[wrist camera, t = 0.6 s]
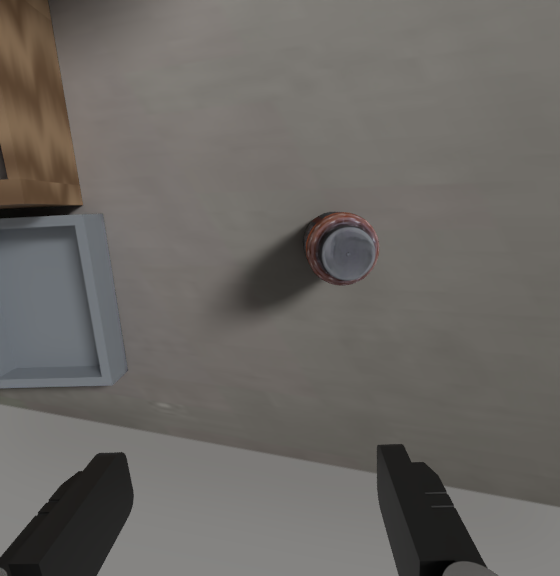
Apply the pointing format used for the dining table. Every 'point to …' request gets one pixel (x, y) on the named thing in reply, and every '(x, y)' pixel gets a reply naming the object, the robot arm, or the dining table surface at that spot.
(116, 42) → the dining table surface
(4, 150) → the open wooden box frame
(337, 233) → the supplement bottle
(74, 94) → the dining table surface
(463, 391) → the dining table surface
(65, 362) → the tray
